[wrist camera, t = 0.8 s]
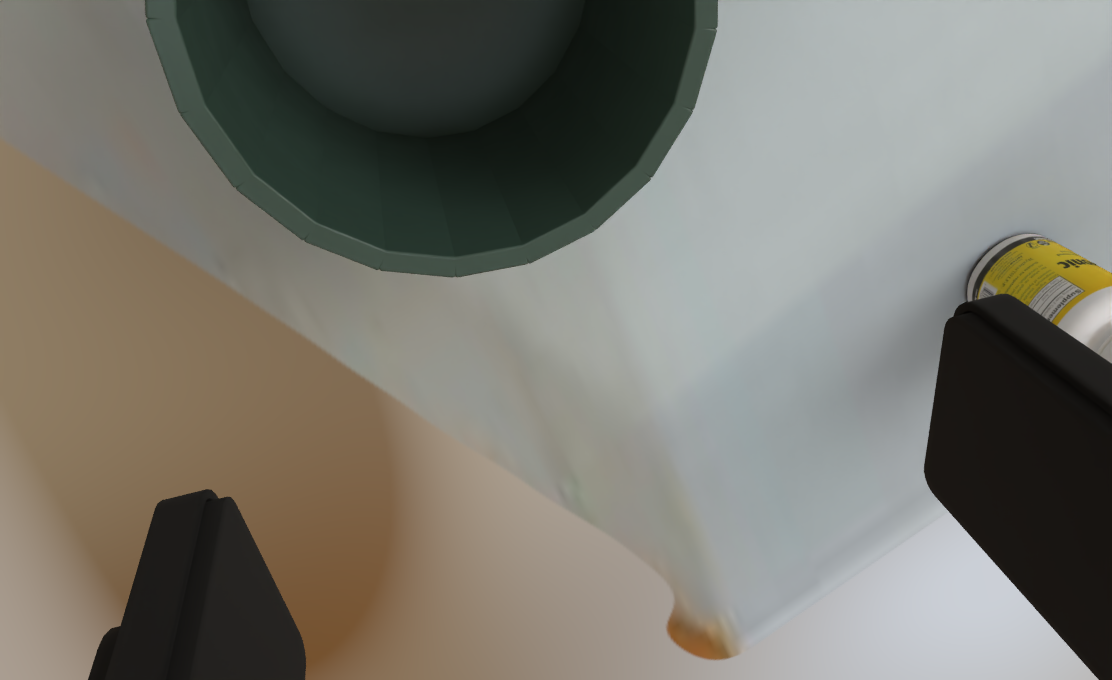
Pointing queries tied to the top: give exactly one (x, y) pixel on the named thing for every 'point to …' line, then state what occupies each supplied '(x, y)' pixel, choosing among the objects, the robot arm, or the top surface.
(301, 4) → the tin
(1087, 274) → the supplement bottle
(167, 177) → the top surface
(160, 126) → the top surface
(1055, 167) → the top surface
